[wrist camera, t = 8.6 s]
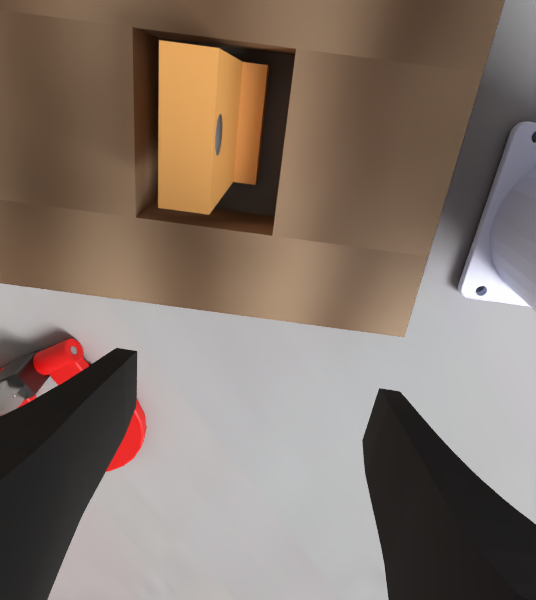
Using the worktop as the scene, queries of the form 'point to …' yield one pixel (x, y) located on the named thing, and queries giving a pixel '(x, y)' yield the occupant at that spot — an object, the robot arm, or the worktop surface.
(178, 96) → the orange t-shaped beam
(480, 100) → the worktop surface
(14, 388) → the tow hook
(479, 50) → the well board
